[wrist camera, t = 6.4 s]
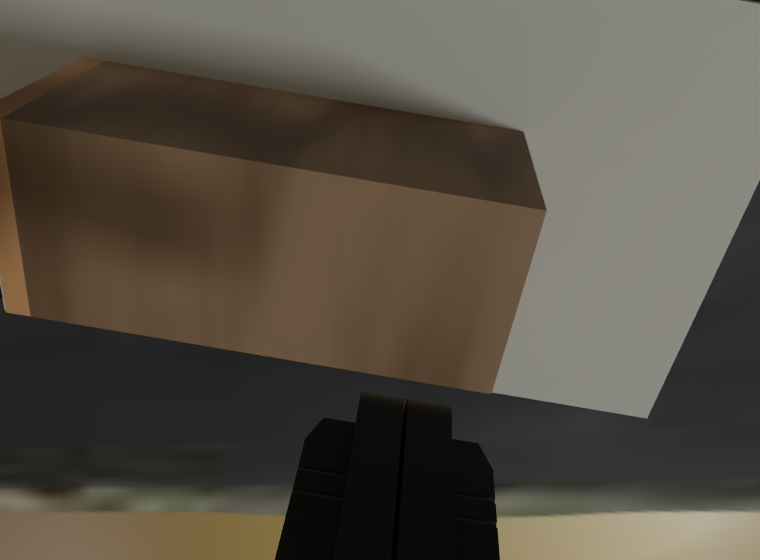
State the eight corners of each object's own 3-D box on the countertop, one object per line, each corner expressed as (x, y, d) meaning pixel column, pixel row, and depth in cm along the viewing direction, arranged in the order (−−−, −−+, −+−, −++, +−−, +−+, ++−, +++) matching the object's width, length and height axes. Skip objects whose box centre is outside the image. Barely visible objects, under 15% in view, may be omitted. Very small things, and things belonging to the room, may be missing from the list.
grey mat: (13, 302, 23) (4, 310, 23) (-62, -138, 17) (-75, -138, 16) (643, 408, 23) (646, 418, 23) (826, 13, 17) (836, 16, 16)
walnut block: (482, 287, 21) (96, 222, 21) (523, 131, 18) (83, 56, 18) (491, 393, 17) (6, 312, 17) (547, 210, 14) (-29, 113, 14)
